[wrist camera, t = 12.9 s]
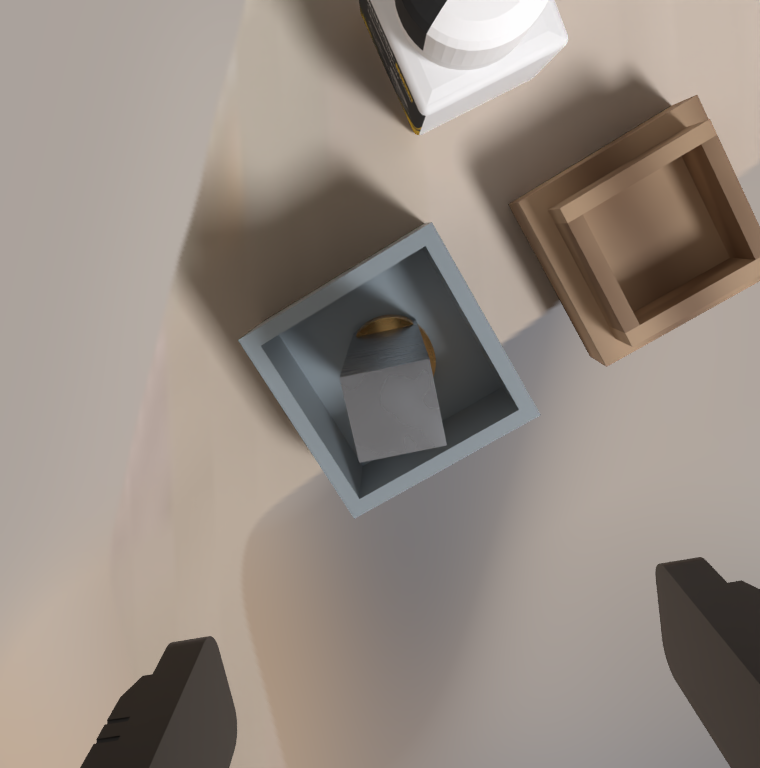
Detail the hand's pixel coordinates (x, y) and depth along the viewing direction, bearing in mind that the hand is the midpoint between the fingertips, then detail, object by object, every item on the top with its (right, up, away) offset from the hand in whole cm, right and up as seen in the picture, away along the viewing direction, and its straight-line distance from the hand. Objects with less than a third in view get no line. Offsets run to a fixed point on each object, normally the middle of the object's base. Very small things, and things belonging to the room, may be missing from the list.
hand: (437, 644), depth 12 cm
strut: (0, +6, +26) cm, 27 cm away
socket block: (+13, +13, +26) cm, 32 cm away
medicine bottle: (+3, +23, +24) cm, 33 cm away
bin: (0, +6, +27) cm, 28 cm away
